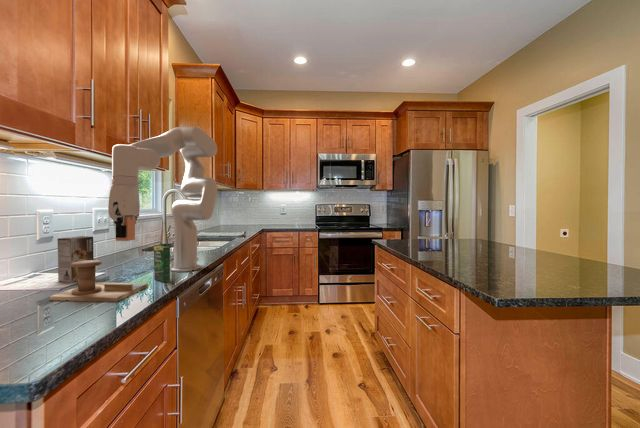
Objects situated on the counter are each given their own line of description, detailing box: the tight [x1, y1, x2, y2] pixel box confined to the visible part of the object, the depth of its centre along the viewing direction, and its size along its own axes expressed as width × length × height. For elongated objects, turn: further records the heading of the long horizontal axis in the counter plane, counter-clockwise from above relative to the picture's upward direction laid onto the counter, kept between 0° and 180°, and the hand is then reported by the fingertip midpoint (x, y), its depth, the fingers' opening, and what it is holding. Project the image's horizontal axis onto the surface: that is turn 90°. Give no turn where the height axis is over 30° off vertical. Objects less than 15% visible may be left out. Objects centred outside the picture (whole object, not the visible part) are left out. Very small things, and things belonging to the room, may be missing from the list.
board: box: [49, 281, 149, 303], centre depth 102 cm, size 17×20×3 cm
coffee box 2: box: [153, 245, 171, 283], centre depth 120 cm, size 8×3×13 cm, turn 51°
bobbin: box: [71, 259, 103, 295], centre depth 99 cm, size 8×8×9 cm
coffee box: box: [57, 235, 95, 283], centre depth 119 cm, size 9×6×16 cm
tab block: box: [115, 216, 136, 242], centre depth 105 cm, size 4×4×8 cm
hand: (125, 236), depth 106 cm, fingers closed on tab block, 4 cm apart
